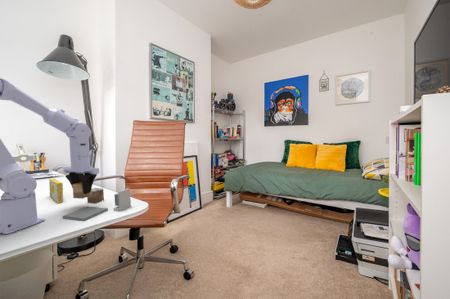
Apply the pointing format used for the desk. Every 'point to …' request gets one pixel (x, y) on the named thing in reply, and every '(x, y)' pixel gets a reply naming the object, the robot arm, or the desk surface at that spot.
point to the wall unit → (122, 200)
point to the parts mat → (85, 213)
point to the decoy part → (96, 195)
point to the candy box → (56, 190)
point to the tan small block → (80, 191)
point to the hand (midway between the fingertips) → (82, 192)
